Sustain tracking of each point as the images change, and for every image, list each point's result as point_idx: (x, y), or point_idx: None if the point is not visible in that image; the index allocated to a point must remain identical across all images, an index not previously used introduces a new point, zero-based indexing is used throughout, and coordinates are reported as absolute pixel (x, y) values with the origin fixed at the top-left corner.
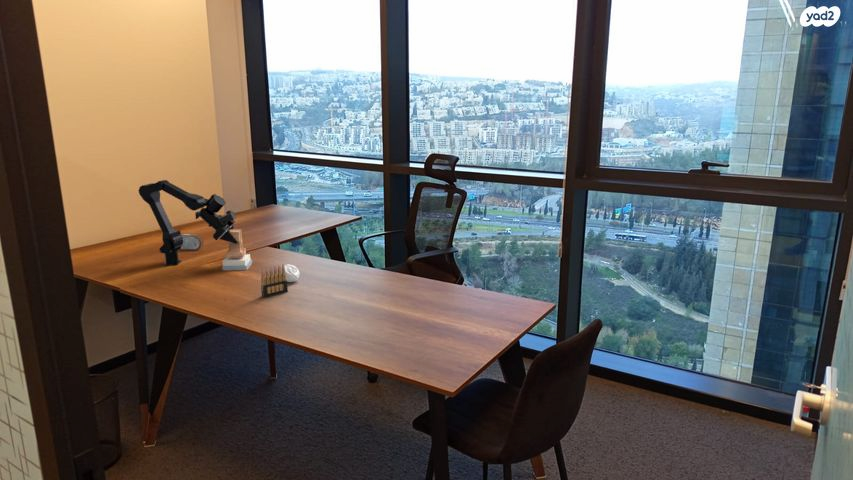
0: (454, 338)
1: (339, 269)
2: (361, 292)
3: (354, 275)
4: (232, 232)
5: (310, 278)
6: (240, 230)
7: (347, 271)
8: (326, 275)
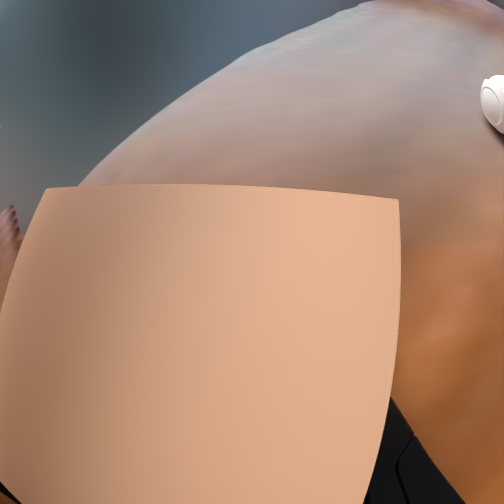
0: None
1: (366, 32)
2: (497, 47)
3: (409, 25)
4: (363, 485)
5: (457, 81)
6: (132, 193)
7: (381, 26)
8: (422, 53)
